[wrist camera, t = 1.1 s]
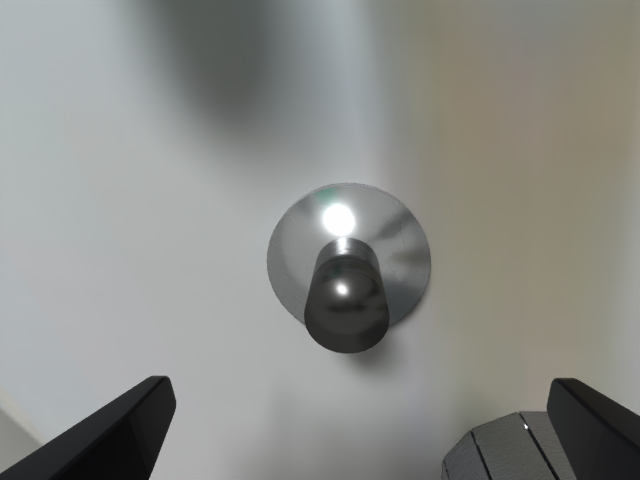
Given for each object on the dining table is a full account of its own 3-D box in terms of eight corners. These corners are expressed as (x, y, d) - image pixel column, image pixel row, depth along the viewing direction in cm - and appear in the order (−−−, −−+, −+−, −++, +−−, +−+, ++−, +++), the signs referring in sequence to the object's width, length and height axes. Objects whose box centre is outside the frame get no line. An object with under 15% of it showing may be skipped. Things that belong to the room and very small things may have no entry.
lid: (428, 177, 14) (469, 205, 9) (422, 323, 16) (452, 404, 12) (262, 186, 15) (222, 217, 10) (280, 324, 17) (254, 402, 12)
